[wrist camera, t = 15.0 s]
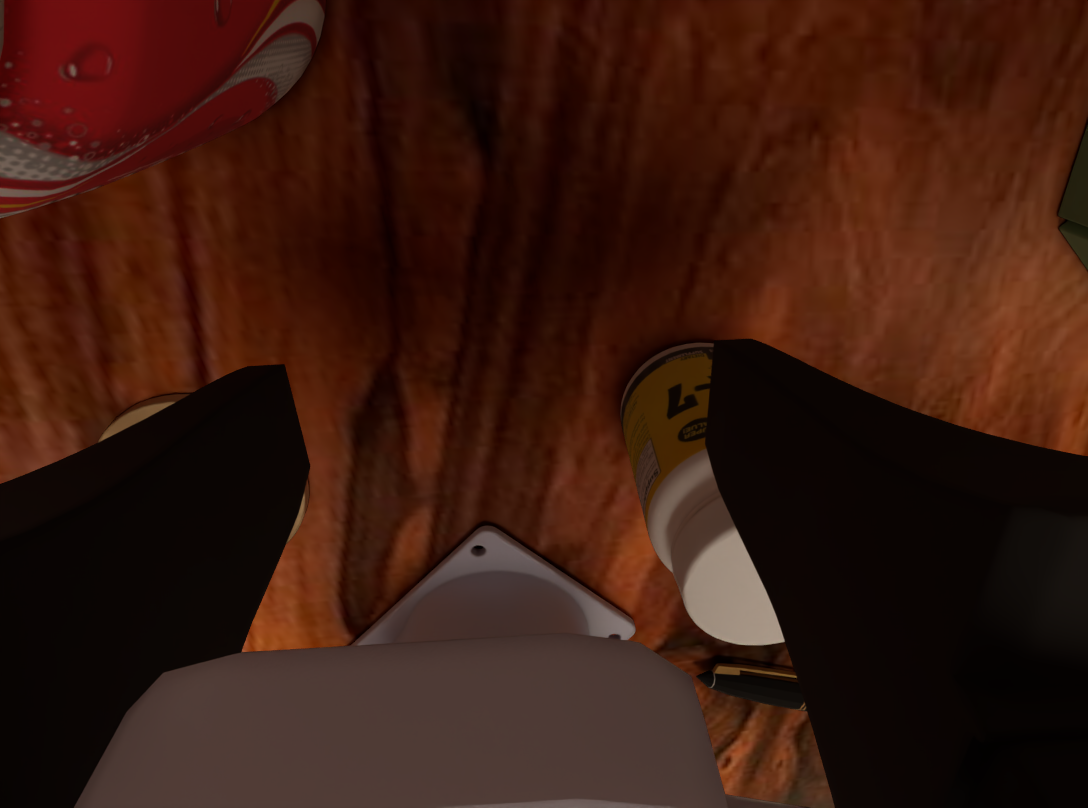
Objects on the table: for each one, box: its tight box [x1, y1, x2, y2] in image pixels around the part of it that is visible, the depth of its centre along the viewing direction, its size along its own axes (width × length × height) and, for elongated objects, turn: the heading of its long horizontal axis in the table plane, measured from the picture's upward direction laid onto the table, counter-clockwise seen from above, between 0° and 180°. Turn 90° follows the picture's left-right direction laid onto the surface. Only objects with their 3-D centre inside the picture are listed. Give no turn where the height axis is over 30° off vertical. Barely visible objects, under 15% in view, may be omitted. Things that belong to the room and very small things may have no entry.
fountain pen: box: [696, 663, 807, 711], centre depth 30 cm, size 14×1×2 cm
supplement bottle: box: [620, 343, 785, 645], centre depth 19 cm, size 5×5×8 cm
